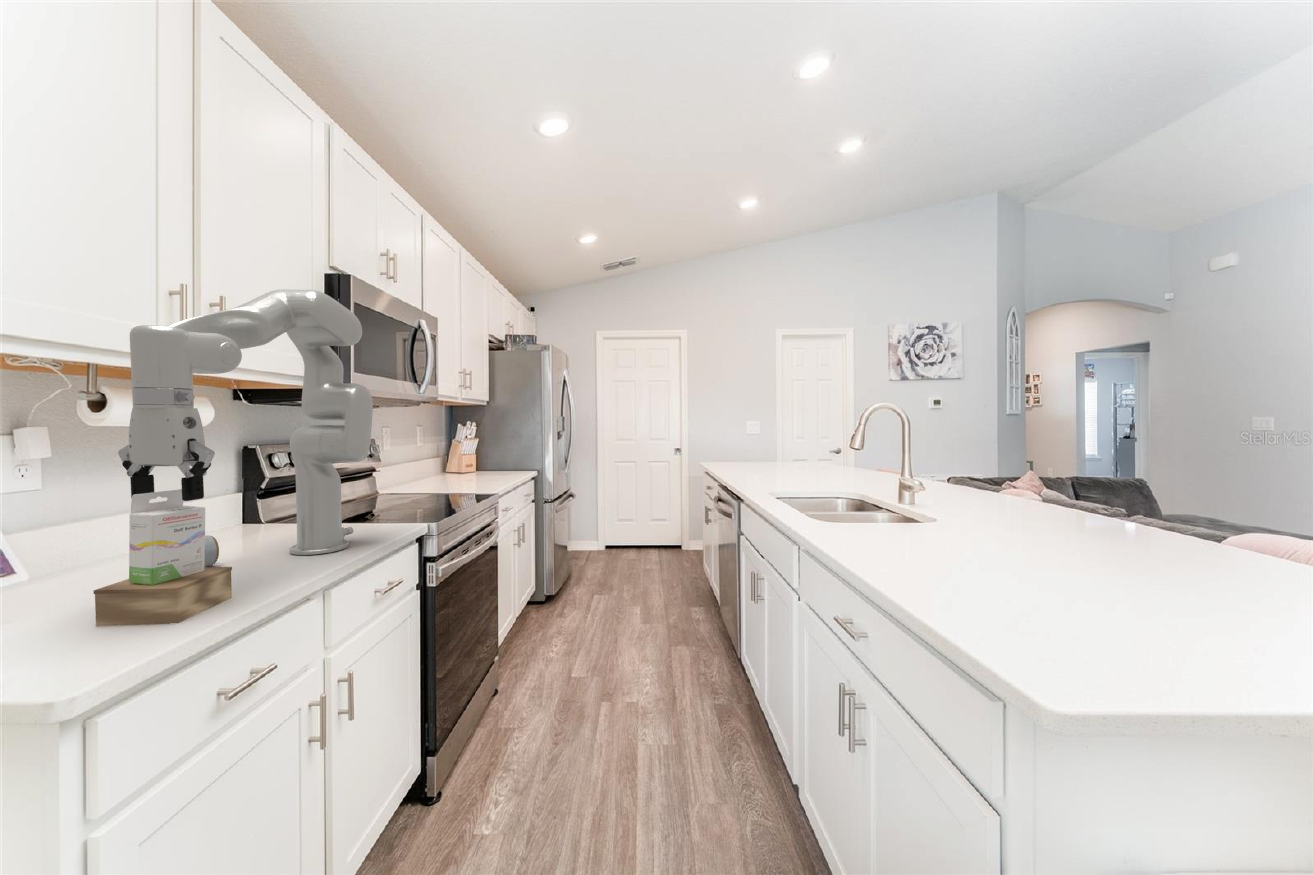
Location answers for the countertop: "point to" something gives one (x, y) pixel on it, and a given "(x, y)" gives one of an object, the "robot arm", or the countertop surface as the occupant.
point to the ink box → (165, 538)
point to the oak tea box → (162, 599)
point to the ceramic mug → (211, 551)
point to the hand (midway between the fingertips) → (168, 499)
